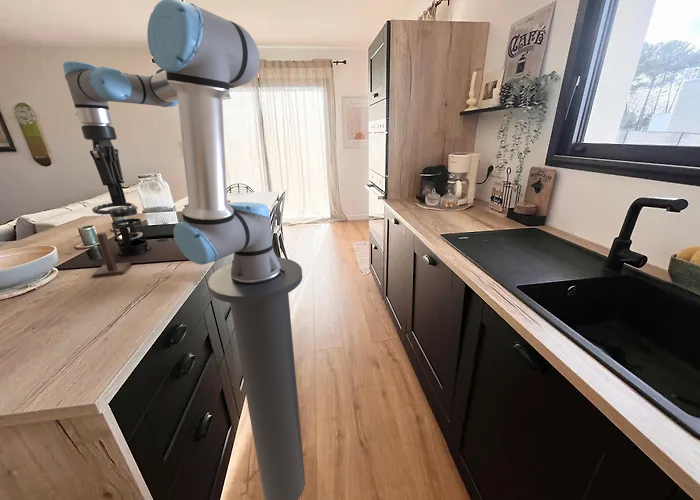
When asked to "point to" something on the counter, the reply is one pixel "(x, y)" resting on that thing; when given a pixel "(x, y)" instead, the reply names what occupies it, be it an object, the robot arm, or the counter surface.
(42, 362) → the counter surface
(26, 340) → the counter surface
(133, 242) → the french press
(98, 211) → the ring
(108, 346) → the counter surface
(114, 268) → the holder
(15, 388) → the counter surface
